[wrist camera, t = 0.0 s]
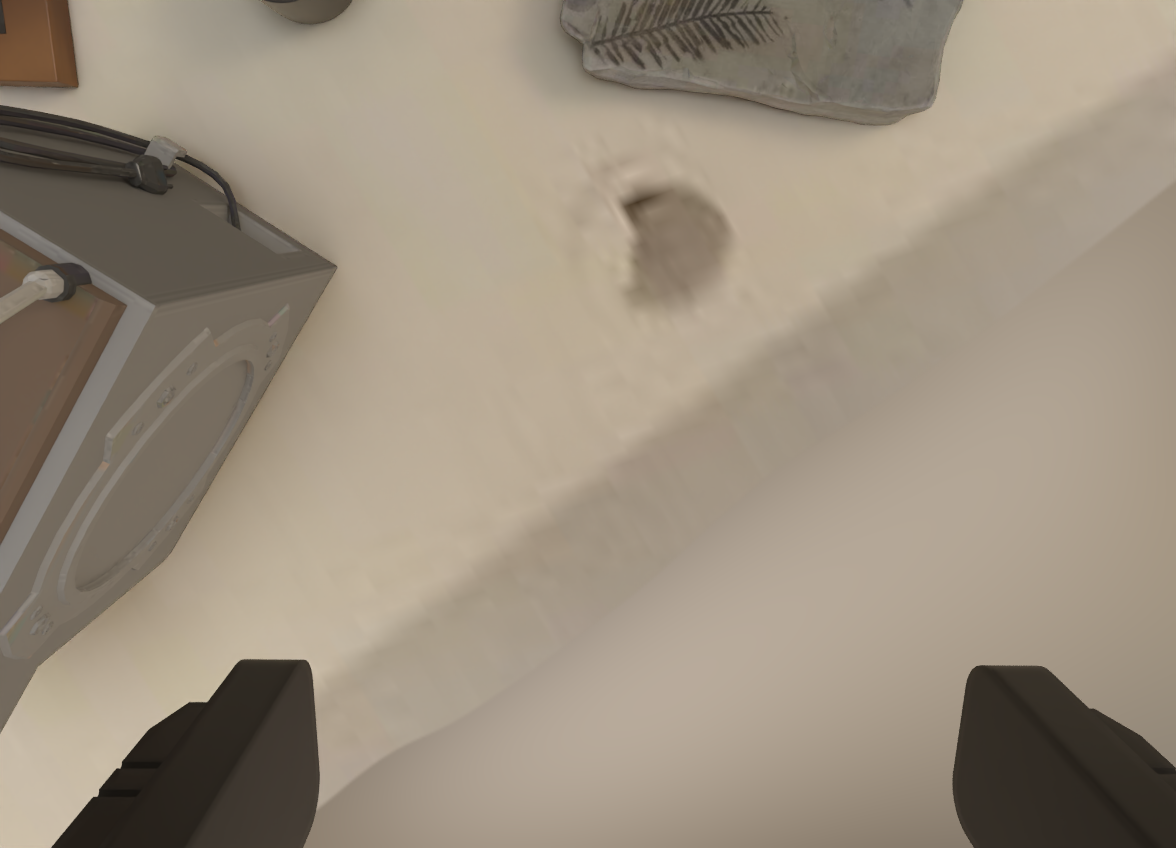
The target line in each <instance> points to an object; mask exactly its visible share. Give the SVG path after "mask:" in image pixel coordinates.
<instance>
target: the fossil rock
mask: <svg viewBox="0 0 1176 848" xmlns="http://www.w3.org/2000/svg"><path fill="white" fill-rule="evenodd" d="M962 3H963V0H564V1H563V6H562V11H561V15H560V21H561V26H562V28H563V29H564V31H565V32H566V33H567V34H569V35H571V36H572V37H574V38H576V39H577V40H578V41H579V42H580V43H581V44H582V45H583V50H582V63H583V68H584V70H585V71H586V72H588V73H590V74H591V75H593V76H594V77H596V78H599V79H604V80H610V81H615V82H619V83H622V84H625V85H627V86H630V87H633V88H641V89H676V90H682V91H689V92H700V93H711V94H720V95H727V96H734V97H740V98H743V99H747V100H751V101H755V102H759V103H763V104H766V105H769V106H772V107H775V108H779V109H784V110H790V111H794V112H797V113H800V114H805V115H817V116H824V117H829V118H834V119H838V120H842V121H852V122H855V123H859V124H869V125H890V124H893V123H896V122H898V121H900V120H901V119H903V118H904V117H906V116H907V115H911V114H914V113H918V112H921V111H925V110H926V109H928V108H930V107H932V105H933V103H934V101H935V99H936V94H937V89H938V85H939V80H940V69H941V62H942V56H943V50H944V46H945V43H946V40H947V37H948V35H949V32H950V29H951V26H952V23H953V20H954V19H955V17H956V15H957V14H958V12H959V11H960V9H961V6H962Z"/></svg>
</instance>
